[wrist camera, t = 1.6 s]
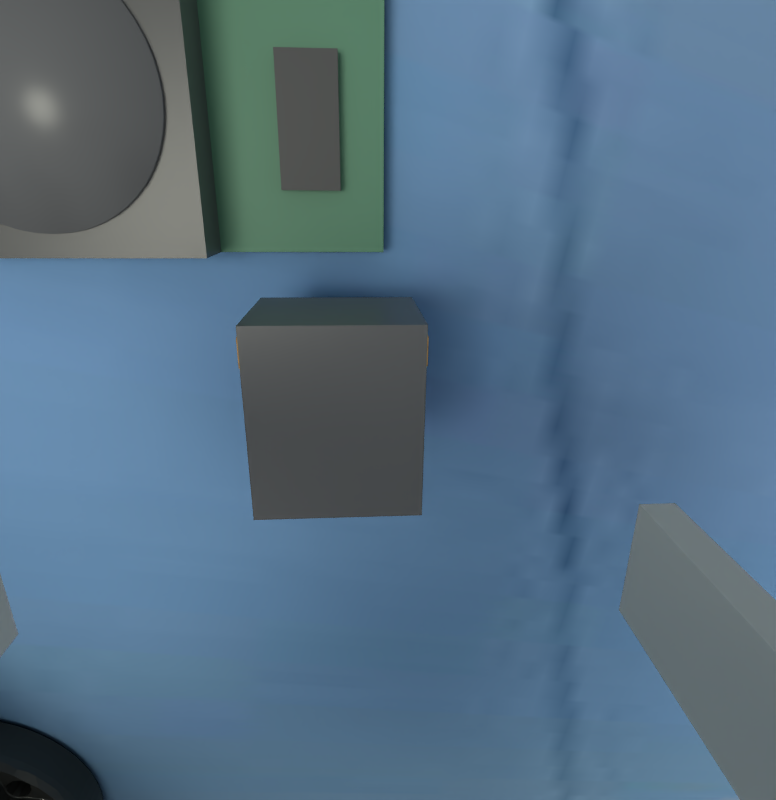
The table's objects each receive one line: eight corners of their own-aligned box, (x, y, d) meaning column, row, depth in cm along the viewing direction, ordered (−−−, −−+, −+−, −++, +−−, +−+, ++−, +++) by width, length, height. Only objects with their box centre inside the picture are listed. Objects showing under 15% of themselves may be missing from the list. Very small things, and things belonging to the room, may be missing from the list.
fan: (221, 251, 24) (205, 258, 21) (-46, 251, 23) (-96, 258, 20) (190, -64, 20) (166, -102, 17) (-133, -75, 19) (-208, -117, 16)
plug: (401, 419, 28) (423, 514, 20) (282, 421, 28) (252, 519, 19) (404, 282, 26) (429, 324, 17) (273, 282, 25) (233, 326, 17)
